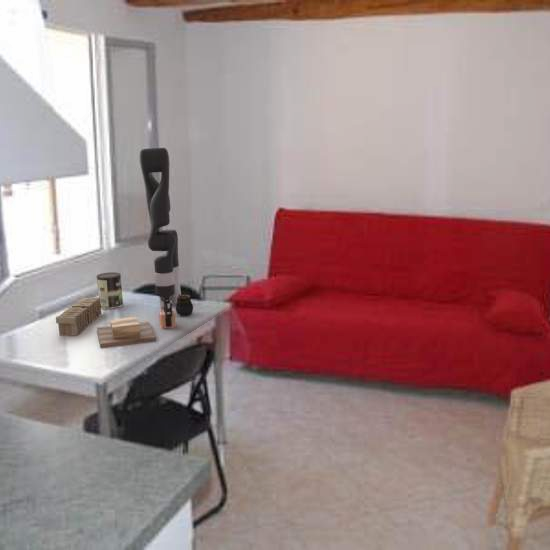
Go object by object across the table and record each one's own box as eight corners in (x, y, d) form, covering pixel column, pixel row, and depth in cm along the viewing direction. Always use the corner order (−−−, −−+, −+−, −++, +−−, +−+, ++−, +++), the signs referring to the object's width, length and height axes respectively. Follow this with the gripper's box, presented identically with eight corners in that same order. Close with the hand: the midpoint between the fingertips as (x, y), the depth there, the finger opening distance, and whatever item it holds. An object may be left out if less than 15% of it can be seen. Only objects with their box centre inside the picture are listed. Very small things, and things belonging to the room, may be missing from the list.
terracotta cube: (159, 324, 262) (158, 311, 261) (173, 323, 264) (172, 309, 263) (161, 328, 257) (160, 315, 256) (175, 327, 259) (175, 313, 258)
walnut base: (97, 331, 257) (95, 317, 255) (148, 324, 262) (147, 311, 261) (100, 347, 238) (99, 333, 237) (155, 340, 244) (154, 326, 243)
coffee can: (125, 302, 295) (123, 271, 292) (120, 309, 285) (117, 277, 282) (102, 302, 296) (100, 272, 292) (96, 309, 285) (93, 278, 282)
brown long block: (84, 316, 280) (56, 337, 251) (82, 297, 278) (54, 315, 250) (102, 316, 279) (76, 337, 251) (100, 297, 277) (74, 315, 249)
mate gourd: (195, 312, 278) (194, 289, 275) (190, 317, 270) (189, 294, 268) (179, 311, 279) (178, 289, 276) (173, 317, 272) (172, 294, 269)
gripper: (177, 286, 251) (180, 328, 255) (171, 277, 264) (174, 318, 268) (157, 288, 249) (160, 330, 253) (152, 279, 262) (155, 320, 266)
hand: (167, 323), depth 261 cm, fingers closed on terracotta cube, 5 cm apart
